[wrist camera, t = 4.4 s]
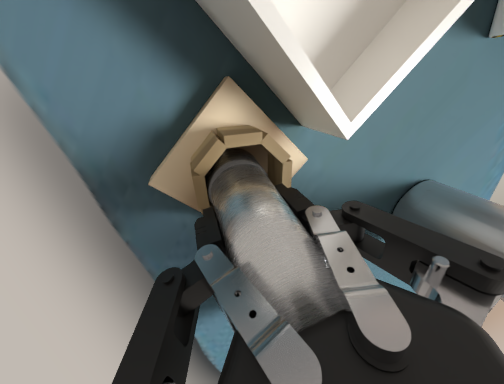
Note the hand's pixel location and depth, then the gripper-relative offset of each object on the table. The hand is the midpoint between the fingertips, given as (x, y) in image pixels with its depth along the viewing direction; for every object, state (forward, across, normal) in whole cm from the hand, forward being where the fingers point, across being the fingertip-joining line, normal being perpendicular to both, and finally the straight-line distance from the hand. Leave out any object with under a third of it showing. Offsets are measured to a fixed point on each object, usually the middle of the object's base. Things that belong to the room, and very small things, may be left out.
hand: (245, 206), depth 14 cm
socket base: (+6, -1, -1) cm, 6 cm away
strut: (+3, 0, -1) cm, 4 cm away
